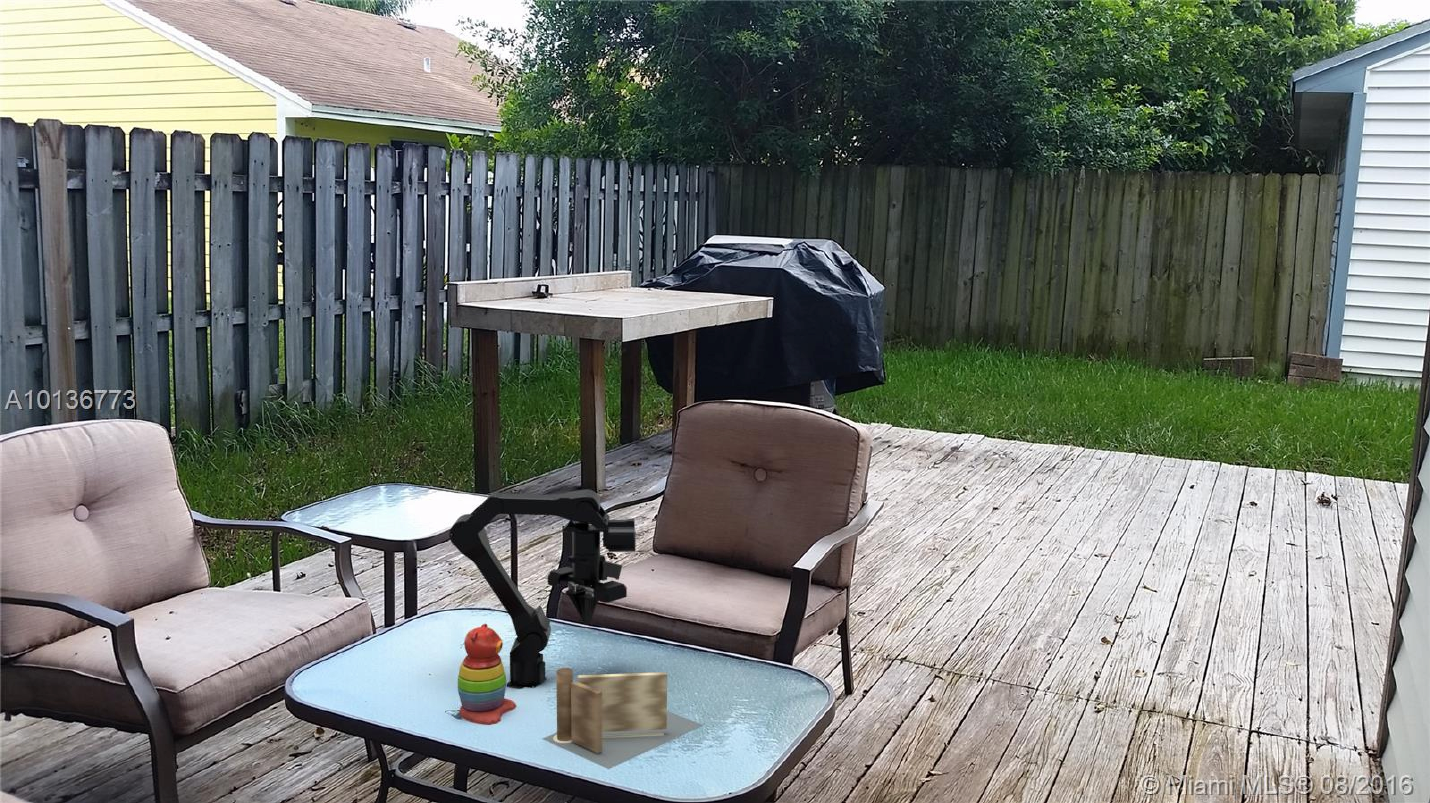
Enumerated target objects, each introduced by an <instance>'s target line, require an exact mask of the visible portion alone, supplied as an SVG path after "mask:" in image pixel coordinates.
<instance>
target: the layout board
mask: <svg viewBox="0 0 1430 803" xmlns="http://www.w3.org/2000/svg"><path fill="white" fill-rule="evenodd" d="M703 726H704V725H703V724H702V723H700V722H697V721H695V720H691V719H689V718H687V717H684V716H681V715H679V714H676V713H674V712H671V711H669V710H667V729H663V730H639V731H615V732H602V751H601V752H599V753H596V752H593V751H591V750H589V749H587V748H584V747H582V746H580V745H578V744H575V743H573V742H572V740H569V741H559V740H558V739H557V732H555V733H553V734H550V735H547V736H545V737H542V740H544V741H546V742H548V743H550V744H553V745H555V746H557V747H559V748H561V749H564V750H565V751H568V752H570V753H572V754H575V755H577V756H579V757H580V758H583V759H586V760H587V761H590V762H592V763H594V764H596V765H598V766H601V767H603V768H605V769H607V770H609V769H613V768H614V767H616V766H618V765H621V764H622V763H625V762H627V761H630V760H632V759H633V758H636V757H637V756H641V755H642V754H644V753H646V752H649V751H651V750H653V749H655V748H659V746H662V745H665V744H666V743H668V742H670V741H673V740H675V739H676V738H679V737H681V736H684V735H685V734H688V733H691V732H692V731H694V730H696V729H699V728H701V727H703Z"/></svg>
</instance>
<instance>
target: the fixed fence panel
mask: <svg viewBox="0 0 1430 803" xmlns="http://www.w3.org/2000/svg"><path fill="white" fill-rule="evenodd" d="M573 672H574V670H573V669H572V668H569V667H561V668H558V669H556V672H555V673H556V679H555V680H556V682H555V683H556V733H557V739H558V740H559V741H569V740H572V742H573V743H575V744H578V745H580V746H582V747H584V748H587V749H589V750H591V751H593V752H596V753H599V752H601V751H602V691H599V690H597V689H594V688H592V687H589V686H587V685H584V684H582V683H579V682H578V680H576V681H573V680H574V679H573V678H574V677H573V676H574V675H573Z"/></svg>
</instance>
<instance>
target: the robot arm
mask: <svg viewBox="0 0 1430 803" xmlns="http://www.w3.org/2000/svg"><path fill="white" fill-rule="evenodd" d="M498 515H523V516H525V515H527V516H528V515H529V516H553V517H559V518H561V519H565V520H568V522H566V523H565V524H564V525H563V529H562V532H564V533H571V534H572V555H570V556H568V557H567V559H568V560H567V561H568V562H569V563H572V567H569V566H565V567H560V568H557V569H553V570H550V572H549V573H548V575H547V585H549V586H551V587H555V588H556V587H559V585H560V584H561V582H563V583H566V584H567V585H568V586H567V587H568V588H567V590H565V594H566V595H567V596H568V597H569V599H570V601H571V602H572V605H573V606H574V607H575V609H576V611H577V614H578V615H579V617H580V619H581V622H582V623H583V624H584V625H587V626H588V625H590V624H591V621H592V620H593V616H594V613H595V611H596V608H597V606H598V603H599V602H600V603H601V602H602V603H605V604H607V603H608V604H609V603H612V602H615V601H619V600H621V599H625V598H627V597H628V596H627V595H628V594H627V593H628V591H627V590H628V587H627V586H626V585H625V584H624V583H622V582H620V581H619V580H620V577H621V572H622V568H623V565H622V564H619V563H615V562H612V561H608V560H606V556H605V555H603V554H601V533H602V545H603V546H602V547H603V548H605V550H607V551H608V552H609V553H636V552H637V551H636V550H637V531H636V525H635V524H636V523H635V522H636V519H635V518H624V519H611V518H610V515H609V514H608V513H607V511H606V510H605V509H604V508H603V507H602V503H601V498H600V496H599V495H598V493H596V491H594V490H593V489H592V490H591V489H578V490H573V491H569V492H564V493H560V494H540V493H539V494H538V493H535V494H532V493H509V492H508V493H504V492H499V491H494V492H492V493H490V494H489V496H488V497H487V498H486V499H485V500H484V501H483V502H482V503H480V504H479V505H478V506H477V507H476V508H475V509H474V510H472V512H471V513H468V514H467V513H466V514H462V515H461V516H459V517H458V518H457V519H456V521H455V522H454V523H453V525H452V526H451V528H450V530H449V534H448V535H449V537H448V538H449V540H450V543H452V545H453V546H454V547H455V548H456V549H457V550H458V551H459V552H460V553H461V555H463V556H465V557H466V558H467V559H469V560H470V561H472V562H473V563H474V565H475V566H476V568H477V569H478V571H479V572H480V574H481V575H482V577H483V578H484V580H485V581H486V582H487V584H488V585H489V587H490V588H491V590H492V592H493V593H494V595H495V596H496V597H497V599H498V601H499V602H500V604H501V605H502V607H504V609H505V610H506V612H507V614H508V615H509V616H510V617H509V618H511V622H512V625H513V629H514V633H515V635H516V638H515V639H514V641H513V643H512V646H511V649H510V652H509V681H508V682H506V687H509V688H518V689H524V688H527V689H535V688H537V687H538V686H539V685H541V684H542V683H544V682H545V681H547V679H548V677H547V676H546V662H545V661H544V654H543V653H540V652H543V651H544V650H545V649H546V648H547V646H548V643H549V640H550V637H551V632H552V627H551V625H550V624H551V620H552V619H550V618H549V617H548V616H547V615H546V614H545V611H544V609H543V608H542V606H541V605H539V606H538V607H536V608H534V607H532V606H531V605H530V604H529V603H528V602H527V600H526V599H525V598H524V596H523V595H522V593H521V591H520V590H519V588H518V587H517V585H516V584H515V583H514V581H513V580H512V578H511V577H510V575H509V574H508V572H507V571H506V570H505V568H504V567H503V565H502V563H501V561H500V560H499V559H498V557H497V555H496V554H495V553H494V551H493V550H492V548H491V543H490V540H489V536H488V534H487V531H486V530H485V528H486V527H487V525H488V524H490V522H492V520H494V518H495V517H497V516H498ZM608 578H613V579H615V580H617V581H615V580H609V581H607V580H608ZM601 581H602V582H601ZM603 581H606V582H603ZM618 581H619V582H618Z"/></svg>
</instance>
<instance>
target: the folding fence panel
mask: <svg viewBox="0 0 1430 803" xmlns="http://www.w3.org/2000/svg"><path fill="white" fill-rule="evenodd" d="M577 682H579V683H582V684H584V685H587V686H589V687H592V688H594V689H597V690H599V691H602V732H615V731H639V730H663V729H667V711H668V672H666V671H664V672H661V671H660V672H636V673H635V672H634V673H633V672H631V673H609V674H605V673H604V674H582V675H581V674H579V675H577Z"/></svg>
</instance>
